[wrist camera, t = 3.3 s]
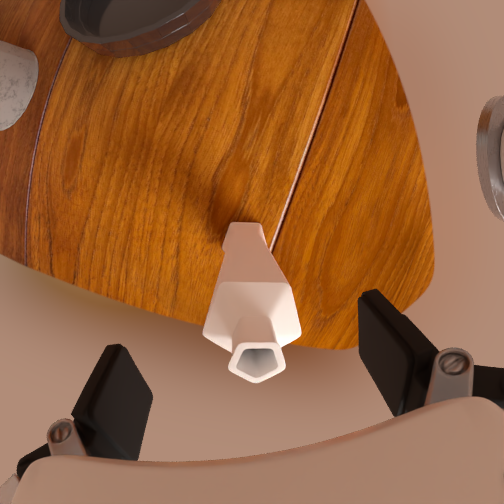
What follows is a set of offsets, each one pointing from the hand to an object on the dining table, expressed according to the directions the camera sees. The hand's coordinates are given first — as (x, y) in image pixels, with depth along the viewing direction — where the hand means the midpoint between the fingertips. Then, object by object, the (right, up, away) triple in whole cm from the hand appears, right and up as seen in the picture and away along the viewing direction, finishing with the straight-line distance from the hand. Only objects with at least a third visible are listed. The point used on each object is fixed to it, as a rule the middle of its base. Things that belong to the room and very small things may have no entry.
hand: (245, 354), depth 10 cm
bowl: (-9, +27, +6) cm, 29 cm away
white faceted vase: (0, +5, +14) cm, 15 cm away
